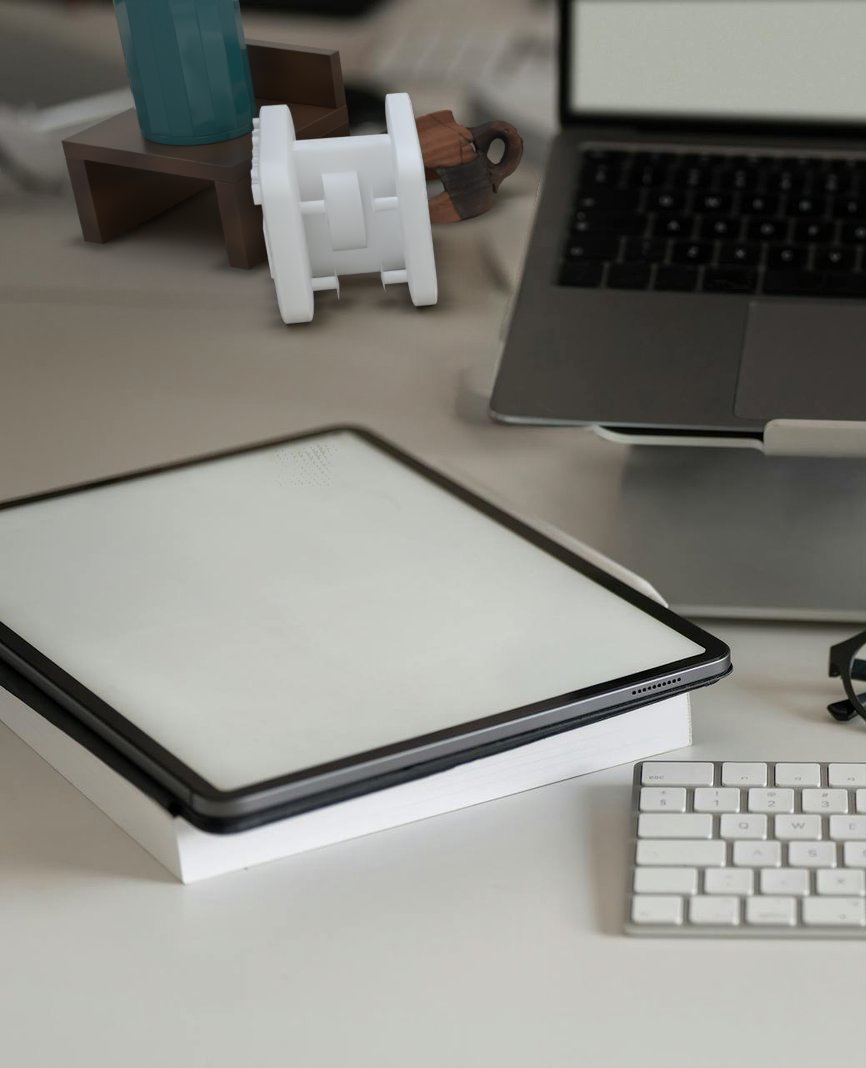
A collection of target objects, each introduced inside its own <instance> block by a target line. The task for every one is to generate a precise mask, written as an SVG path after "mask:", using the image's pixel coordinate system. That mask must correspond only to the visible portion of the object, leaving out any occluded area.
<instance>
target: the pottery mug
mask: <svg viewBox="0 0 866 1068" xmlns="http://www.w3.org/2000/svg"><path fill="white" fill-rule="evenodd" d="M414 119H415V124H416V129H417V134H418V139H419V144H420V149H421V154H422V159H423V165H424V173H425V182H426V181H433V180H437V179H439V181H440V182H441V183H442V187H443V189H444V190H443V191H442V192H441V193H439V194H438V195H435V196H434V197H431V198H430V199H428V208H429V217H430V224H450V223H451V224H452V223H457V222H460V221H463V220H467V219H469V218H476V217H478V216H481V215H484V214H486V213H488V212H489V211H490V210H491V209H492V207H493V205H494V194H497V193H498V191H499V187H500V185H501V184H502V183H503V182H504V180H505V179H507V178H508V177H510V176H511V175H513V173H514V172H516V170H517V169H518V166H519V165H520V162H521V160H522V158H523V154H524V150H525V149H524V139H523V138H522V137H521V136H520V134H519V133H518V129H517V128H516V127H515V126H514V125H513V124H511V123H509V122H508V121H505V120H501V119H500V120H497V119H496V120H489V121H486V122H484V123H481V124H479V125H476V126H465V125H463V124H459V123H457V121H456V119H455V116H454V114H453V110H451V109H443V110H437V111H436V110H435V111H433V112H429V113H426V114H425V115H421V116H418V117H416V118H415V117H414ZM379 134H388V130H387V129H385V130H384V131H382V132H380V133H379ZM497 139H498V140H500V141H502V142H503V144H504V148H503V149H504V150H503V153H502V156H501V158H500V160H499V162H496V163H494V162H492V160H491V159H490V158H489V156H488V153H489V151H490V148H491V145H492V143H493V142H494V141H495V140H497ZM471 144H473V145H471Z"/></svg>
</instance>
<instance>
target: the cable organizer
mask: <svg viewBox="0 0 866 1068" xmlns="http://www.w3.org/2000/svg"><path fill="white" fill-rule="evenodd" d="M384 101H385V103H384V104H385V105H384V106H385V107H384V108H385V109H384V110H385V121H386V130H388V134H380V133H378V134H366V135H353V136H351V135H350V136H351V137H338V138H324V139H311V140H297V141H296V137H295V131H294V125H293V120H292V116H291V113H290V110H289V108H288V106H287V105H273V106H262V107H261V109H260V114H259V118H253V125H254V131H252V134H253V137H252V142H253V150H252V153H253V160H252V170H251V177H252V193H253V199H254V204H255V205H258V204H262V210H263V231H264V237H265V242H266V248H267V254H268V259H267V260H268V265H269V266H268V267H269V271H270V277H271V279H273V280H274V281H273V282H274V287H275V291H276V299H277V303H278V307H279V312H280V315H281V318H282V320H283V322H284V323H285V324H286V325H287V324H296V323H297V324H299V323H309V322H312V321H313V318H314V312H315V300H314V292H317V291H327V290H336V292H337V298H338V300H340V282H339V278H338V276H347V275H357V274H367V273H368V274H369V273H380V280H381V283H382V286H383V289H384V292H385V293H387V291H386V286H385V285H392V284H402V283H403V284H404V283H407V284H408V289H409V294H410V297H411V301H412V303H413V305H414V306H415V307H422V306H431V305H436V304H437V302H438V279H437V272H436V271H437V270H436V262H435V261H436V260H435V253H434V245H433V235H432V227H431V222H430V217H429V208H428V200H429V199H428V191H427V183H426V181H425V173H424V165H423V159H422V154H421V149H420V144H419V139H418V134H417V129H416V124H415V115H414V110H413V106H412V101H411V98H410V96H409V93H408V92H398V93H387V94H386V95H385V99H384Z"/></svg>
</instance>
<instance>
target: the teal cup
mask: <svg viewBox="0 0 866 1068" xmlns="http://www.w3.org/2000/svg"><path fill="white" fill-rule="evenodd" d="M112 4H113V10H114V15H115V20H116V24H117V30H118V34H119V38H120V44H121V49H122V54H123V58H124V63H125V69H126V73H127V78H128V84H129V88H130V94H131V97H132V98H131V99H132V102H133V107H134V108H135V113H136V118H137V122H138V125H139V129H140V133H141V135H142V136H143V137H144V138H145V139H147V140H149V141H152V142H156V143H160V144H166V145H180V146H189V145H204V144H211V143H217V142H222V141H227V140H230V139H234V138H237V137H239V136H242V135H244V134H246V133H248V132H250V131H251V130H253V129H254V125H253V118H257V109H256V103H255V97H254V91H253V85H252V79H251V73H250V67H249V61H248V55H247V49H246V43H245V38H246V37H245V32H244V25H243V19H242V13H241V7H240V2H239V0H112Z"/></svg>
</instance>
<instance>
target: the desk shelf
mask: <svg viewBox="0 0 866 1068" xmlns="http://www.w3.org/2000/svg"><path fill="white" fill-rule="evenodd" d="M245 43H246V49H247V55H248V61H249V67H250V73H251V79H252V85H253V91H254V97H255V103H256V109H257V118H259V114H260V109H261V107H262V106H273V105H287V106H288V108H289V110H290V113H291V116H292V120H293V125H294V131H295V137H296V141H297V140H311V139H324V138H338V137H351V130H350V129H351V128H350V122H349V113H348V106H347V100H346V91H345V85H344V77H343V71H342V64H341V63H342V62H341V56H340V54H341V53H340V50H336V49H330V48H322V47H316V46H307V45H299V44H292V43H284V42H277V41H269V40H261V39H254V38H248V37H247V38H246V37H245ZM252 131H254V129H253V130H251V131H250V132H248V133H246V134H244V135H242V136H239V137H237V138H234V139H230V140H227V141H222V142H217V143H211V144H204V145H189V146H180V145H166V144H160V143H156V142H152V141H149V140H147V139H145V138H144V137H143V136H142V135H141V133H140V129H139V125H138V122H137V118H136V113H135V108H134V106H133V107H131V108H129V109H126V110H124V111H122V112H119V113H118V114H116V115H113V116H111V117H108V118H107V119H105V120H103V121H100V122H98V123H96V124H93V125H92V126H90V127H87V128H85V129H83V130H81V131H79V132H77V133H74V134H71V135H70V136H67V137H65V138H63V139H62V140H61V146H62V149H63V153H64V158H65V161H66V162H65V163H66V167H67V171H68V176H69V180H70V184H71V189H72V194H73V197H74V201H75V206H76V210H77V215H78V218H79V223H80V228H81V232H82V235H83V237H82V238H83V240H84V242H88V243H94V244H100V245H104V244H106V243H107V242H109V241H111V240H113V239H115V238H117V237H118V236H120V235H122V234H124V233H125V232H127V231H129V230H131V229H133V228H135V227H137V226H139V225H140V224H142V223H144V222H146V221H147V220H150V219H152V218H153V217H155V216H156V215H159V214H161V213H163V212H164V211H167V210H169V209H170V208H171V207H174V206H175V205H177V204H179V203H181V202H182V201H185V200H186V199H188V198H190V197H192V196H194V195H195V194H197V193H199V192H201V191H203V190H205V189H206V188H208V187H210V186H212V185H213V184H214V187H215V191H216V197H217V203H218V209H219V214H220V220H221V225H222V226H221V227H222V232H223V236H224V237H223V238H224V241H225V242H224V243H225V248H226V253H227V259H228V264H229V267H230V268H234V269H240V270H246V271H250V270H252V269H253V268H255V267H257V266H258V265H260V264H261V263H262V262H264V261H266V260H268V254H267V248H266V242H265V237H264V231H263V210H262V204H258V205H255V204H254V199H253V193H252V177H251V170H252V160H253V153H252V150H253V142H252V137H253V134H252Z"/></svg>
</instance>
